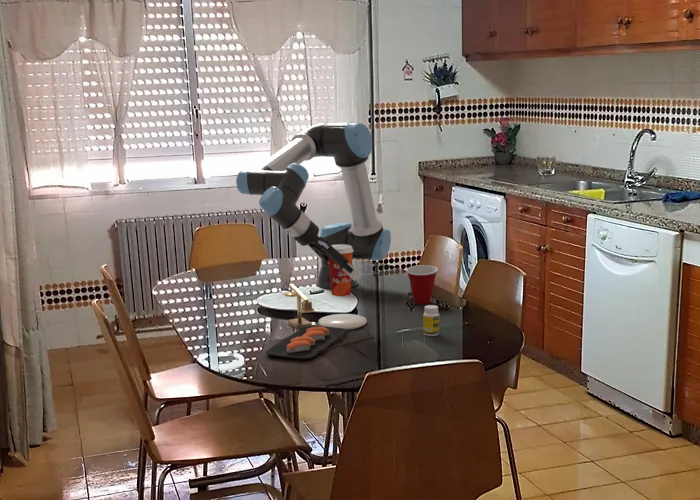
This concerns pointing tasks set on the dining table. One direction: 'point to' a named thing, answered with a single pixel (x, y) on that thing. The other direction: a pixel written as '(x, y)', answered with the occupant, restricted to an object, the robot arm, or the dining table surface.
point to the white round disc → (343, 321)
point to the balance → (305, 308)
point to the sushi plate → (310, 342)
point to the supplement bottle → (431, 321)
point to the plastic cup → (422, 282)
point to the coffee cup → (340, 272)
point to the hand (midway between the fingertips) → (350, 274)
